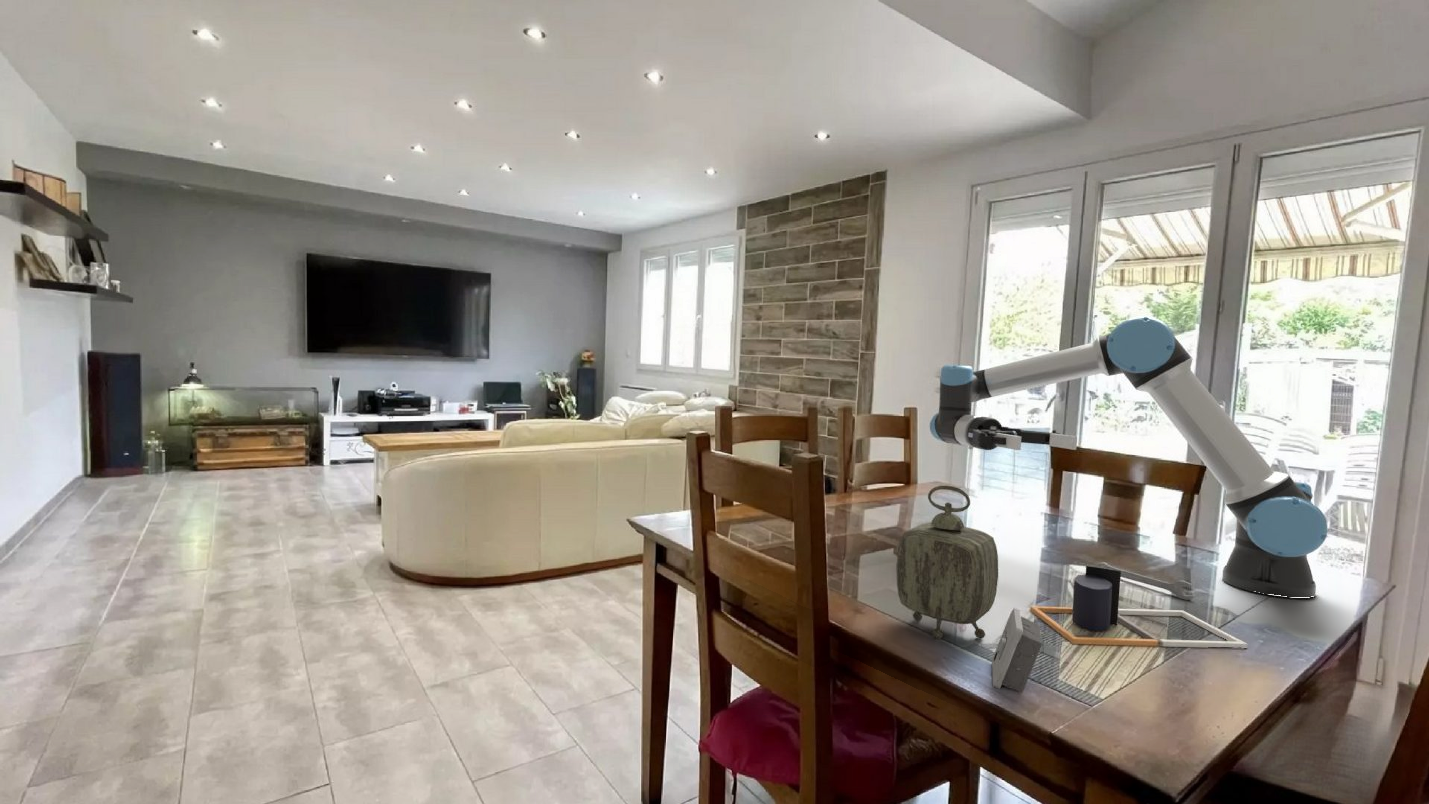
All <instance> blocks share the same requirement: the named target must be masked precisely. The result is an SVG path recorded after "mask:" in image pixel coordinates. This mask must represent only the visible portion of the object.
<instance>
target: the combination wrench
mask: <svg viewBox="0 0 1429 804" xmlns="http://www.w3.org/2000/svg"><path fill="white" fill-rule="evenodd" d="M1101 565H1104V566H1106V568H1109V569H1116V570H1121V578H1124V579H1128V580H1130V581H1135V582H1139V583H1142V584H1146V585H1147V586H1148V585H1149V586H1153V587H1156V588H1159V589H1164V590H1167V591H1169V592H1171V593H1172V594H1174V595H1175V596H1176V597H1177V598H1178V599H1182V600H1185V601H1189V600H1192V599H1195V597H1196V596H1195V595H1188V594H1186V593H1185V592H1184V591H1185V590H1184V587H1192V586H1193V584H1192V583H1190V582H1188V581H1186V580H1177V581H1175V582H1167V581H1165V580H1164V581H1163V580H1159V579H1156V578H1153V577H1149V576H1145V575H1143V574H1138V573H1135V572H1131V571H1128V570H1125V569H1121V568H1117V567H1114V566H1112V565H1110V564H1109V563H1107V562H1105V561H1104V562H1103V561H1102V562H1099V563H1097V565H1096V566H1097V567H1101Z"/></svg>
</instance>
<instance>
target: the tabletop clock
mask: <svg viewBox="0 0 1429 804" xmlns="http://www.w3.org/2000/svg"><path fill="white" fill-rule="evenodd" d="M939 490H942V491H943V490H946V491H953V492H957V493H959V494H961V495H962V496H963V497H965V499H966V501H967V503H966V505H964V506H962V507H952V506H953V504H952V503H951V502H946V503H944V505H940V504H938V503H936V502H935V501H933V499H932V497H931V496H932V494H933V493H934V492H937V491H939ZM927 499H928V501H929V503H930V504H931V506H933V507H935V508H936V509H937V510H941V511H944V512H940V513H937V514H936V515H935V516H934V517H933V518H932V520H931V522H926V523H922V524H919V525H917V526H914V527H912V528H909V529H908V530H905V531H904V532H903V533H902V535H901V537H900V539H899V540H900V541H899V543H898V548H897V556H896V557H897V558H896V564H895V565H896V566H895V567H896V589H897V590H896V591H897V594H898V597H899V601H900V604H901V605H903V606H904V607H905V608H907V609H908V610H911V611H912V612H913V613H912V617H913V620H914V621H916V622H920V621H922V620H923V616H926V617H929V618H931V619H935V620H936V628H934V629H933V630H932V631H931V632H932V636H933V637H934V638H935V639H936V638H938V639H937V640H939V639H941V638H942V637H943V634H944V633H943V631H942V629H941V626H942V621H943V622H948V623H953V624H957V625H958V624H959V625H970V624H971V625H972V627H973V628H974V630H975V631H974V635H975V637H976V638H977V639H980V640H982V639H984V638H985V636H986V632H985V630H984V629H983V628H979V626H978V624H977V622H978V621H979V620H980V619H981V618H982V617H984V616H985V615H986V614H987V613H988V612H990V610H991V609H992V607H993V605H994V603H995V599H996V595H997V589H998V584H999V583H998V582H999V555H998V554H999V553H998V548H997V544H996V542H995V539H994V537H993V536H992V535H991V534H988V533H986V532H985V531H982V530H979V529H976V528H971V527H967V526H965V525H964V522H963V520H962V519H961V518H960V516H959V515H958V514H957V513H959V512H964V511H966V510H967V509H969V507H970V506H971V499H970V497H969V495H968V493H967V492H966V491H964V490H963V489H961V488H959V487H956V486H951V485H938V486H935V487H933V488H932V489H930V491H929V492H928V494H927ZM955 513H956V514H955Z"/></svg>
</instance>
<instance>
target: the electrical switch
mask: <svg viewBox="0 0 1429 804" xmlns="http://www.w3.org/2000/svg"><path fill="white" fill-rule="evenodd" d="M1042 646H1043V639H1042V636H1041V631H1040V626H1039V623H1038V622H1034V621H1032V620H1029V619H1028V618H1026V617H1025V616H1021V609H1018V608H1015V607H1013V608H1012V610H1011V612H1010V614H1009V616H1008V618H1007V621H1006V623H1005V625H1004V628H1003V630H1002V633H1001V636H1000V638H999V640H998V644H997V646H996V649H995V651H994V653H993V656H992V660H991V668H992V669H991V674H992V687H994V688H996V689H998V690H1000V689H1001V687H1002V685H1003V686H1005V687H1007V688H1009V689H1013V690H1015V691H1017V692H1018V693H1019V692H1020V693H1023V692H1024V690H1025V687H1026V684H1027V682H1028V680H1029V678H1030V675H1031V672H1032V670H1033V668H1034V664H1035V663H1036V661H1037V658H1038V655H1039V653H1040V651H1041V648H1042Z"/></svg>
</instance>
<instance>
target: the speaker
mask: <svg viewBox="0 0 1429 804" xmlns="http://www.w3.org/2000/svg"><path fill="white" fill-rule="evenodd" d="M1121 570H1122V569H1121ZM1121 570H1116V569H1109V568H1107V567H1103V566H1099V567H1097V565H1096V566H1095V565H1090V564H1086V565H1085V574H1078V575H1076V576H1075V577H1074V578H1073V594H1072V595H1073V597H1072V607H1073V613H1072V614H1071V615H1072V618H1071V620H1072V623H1073V624H1074V625H1075V626H1076V627H1078V628H1079V629H1082V630H1085V631H1088V632H1092V633H1103V632H1108V630H1109V629H1110V628H1111V625H1112V626H1116V627H1117V626H1118V621H1117V620H1118V609H1119V607H1120V606H1119V605H1120V593H1121V591H1120V590H1121V589H1120V588H1121V579H1122V577H1121Z"/></svg>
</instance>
